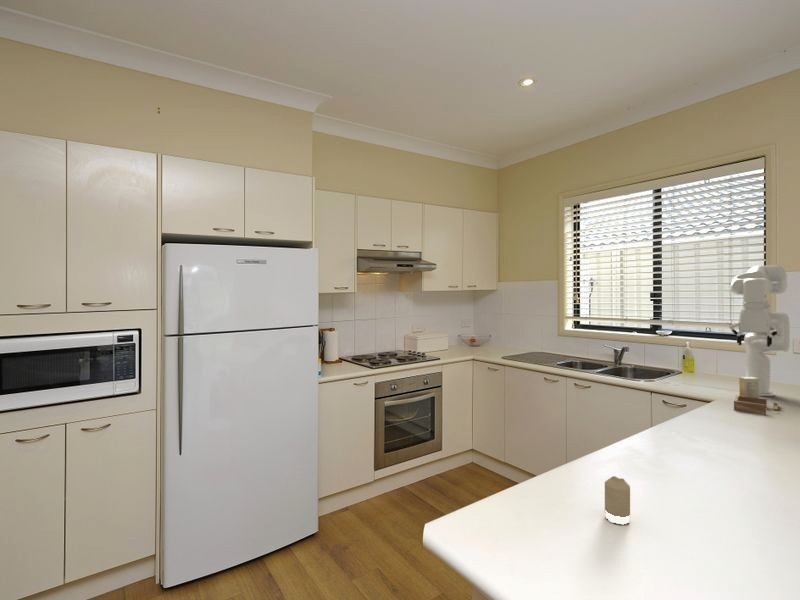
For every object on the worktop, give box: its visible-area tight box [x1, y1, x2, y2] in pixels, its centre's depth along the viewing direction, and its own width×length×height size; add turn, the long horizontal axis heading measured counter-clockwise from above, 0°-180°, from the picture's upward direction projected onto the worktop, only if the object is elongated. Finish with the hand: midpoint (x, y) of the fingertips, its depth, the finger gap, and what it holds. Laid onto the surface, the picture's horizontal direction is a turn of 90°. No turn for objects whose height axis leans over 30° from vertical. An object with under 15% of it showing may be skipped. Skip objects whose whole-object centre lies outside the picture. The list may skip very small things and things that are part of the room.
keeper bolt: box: [772, 401, 779, 410], centre depth 193 cm, size 9×2×3 cm, turn 138°
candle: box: [604, 475, 631, 517], centre depth 103 cm, size 6×6×10 cm
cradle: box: [733, 395, 768, 415], centre depth 192 cm, size 13×11×4 cm
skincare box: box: [738, 376, 760, 398], centre depth 202 cm, size 6×4×12 cm
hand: (753, 345), depth 186 cm, fingers open, 9 cm apart
